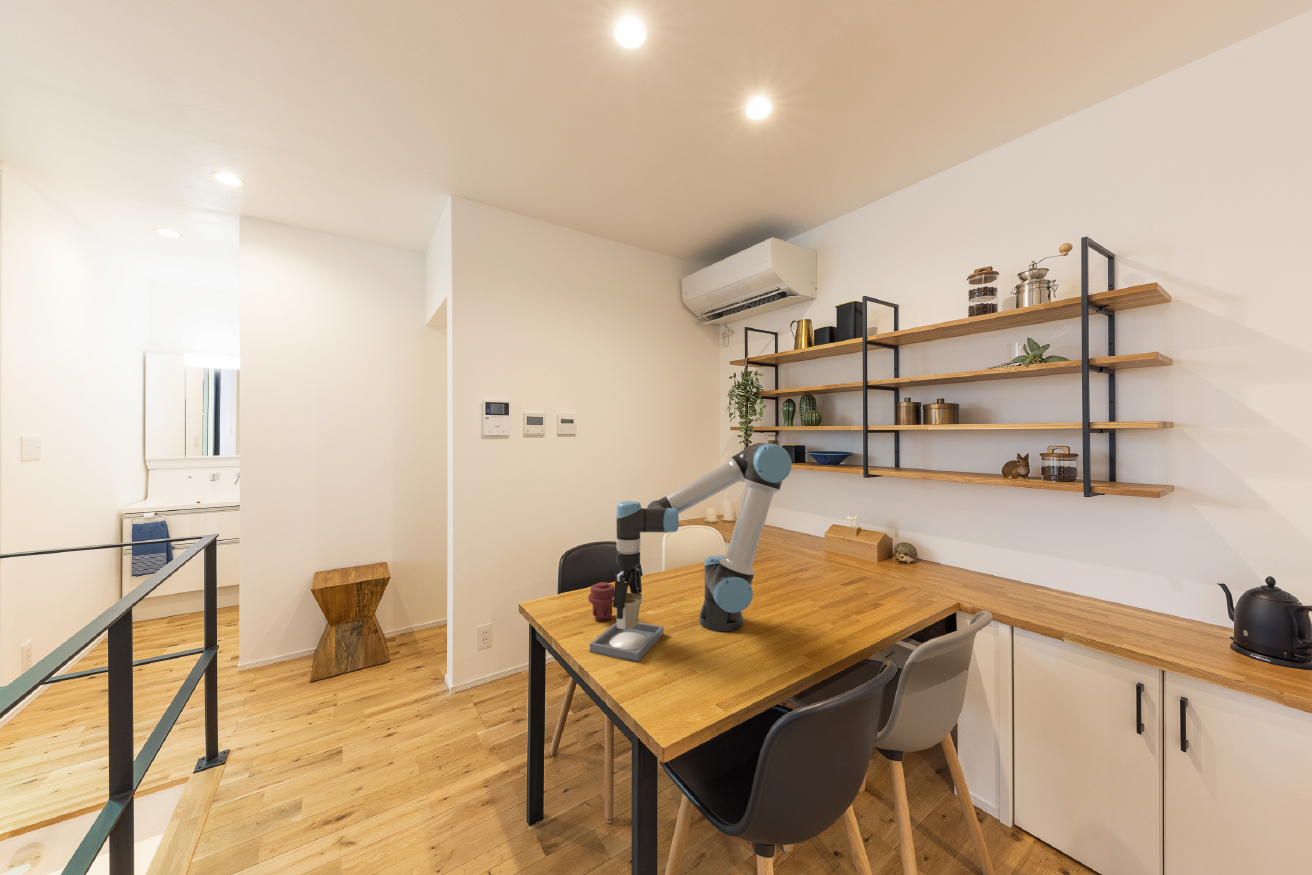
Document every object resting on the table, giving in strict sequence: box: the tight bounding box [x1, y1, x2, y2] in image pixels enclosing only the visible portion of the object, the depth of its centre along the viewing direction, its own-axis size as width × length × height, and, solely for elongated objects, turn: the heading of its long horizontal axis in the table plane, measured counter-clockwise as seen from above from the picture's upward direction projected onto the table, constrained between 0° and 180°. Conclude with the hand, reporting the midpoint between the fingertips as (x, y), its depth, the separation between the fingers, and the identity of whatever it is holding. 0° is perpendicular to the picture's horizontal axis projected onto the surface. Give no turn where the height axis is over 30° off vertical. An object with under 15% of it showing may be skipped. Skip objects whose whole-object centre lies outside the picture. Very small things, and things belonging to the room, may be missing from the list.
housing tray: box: [589, 621, 665, 663], centre depth 146 cm, size 16×20×2 cm
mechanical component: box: [588, 581, 615, 622], centre depth 165 cm, size 12×10×10 cm
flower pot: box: [613, 592, 644, 629], centre depth 146 cm, size 9×9×9 cm
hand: (627, 622), depth 146 cm, fingers closed on flower pot, 8 cm apart
